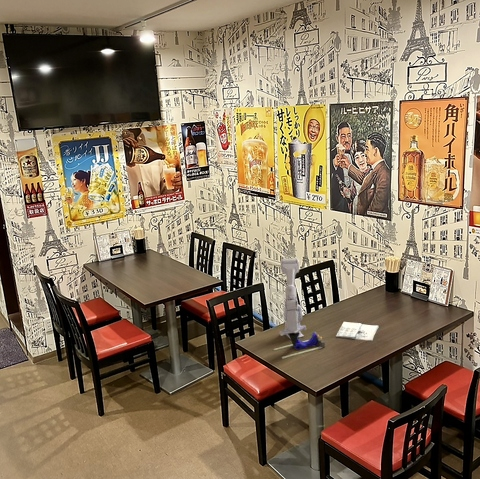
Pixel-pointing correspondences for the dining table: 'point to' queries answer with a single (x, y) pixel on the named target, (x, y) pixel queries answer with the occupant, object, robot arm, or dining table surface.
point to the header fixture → (319, 342)
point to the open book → (352, 329)
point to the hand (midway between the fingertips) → (294, 344)
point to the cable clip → (306, 344)
